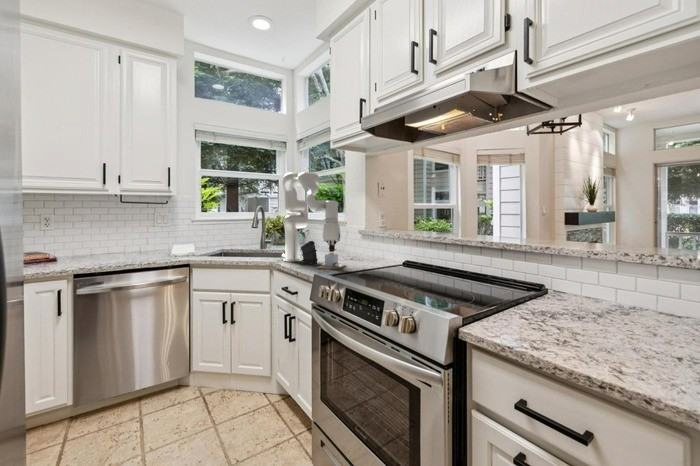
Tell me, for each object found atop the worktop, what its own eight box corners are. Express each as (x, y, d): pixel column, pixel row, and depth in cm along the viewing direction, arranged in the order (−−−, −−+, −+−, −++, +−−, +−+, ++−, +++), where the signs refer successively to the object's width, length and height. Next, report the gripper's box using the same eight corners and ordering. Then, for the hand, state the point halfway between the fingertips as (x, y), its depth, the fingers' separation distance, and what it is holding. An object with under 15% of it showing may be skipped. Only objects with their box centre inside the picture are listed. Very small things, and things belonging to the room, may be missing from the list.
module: (325, 266, 198) (324, 253, 197) (331, 264, 204) (331, 251, 204) (332, 266, 196) (332, 253, 195) (338, 265, 202) (338, 252, 201)
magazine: (316, 262, 207) (309, 240, 210) (304, 269, 215) (298, 248, 219) (320, 262, 209) (314, 240, 213) (309, 268, 218) (302, 247, 222)
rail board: (317, 268, 196) (317, 264, 196) (329, 265, 209) (329, 261, 209) (334, 270, 191) (334, 265, 191) (346, 266, 203) (346, 262, 203)
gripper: (317, 221, 198) (318, 251, 199) (339, 221, 191) (339, 252, 192) (324, 221, 205) (324, 250, 206) (345, 221, 198) (345, 251, 199)
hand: (331, 251), depth 199 cm, fingers closed
